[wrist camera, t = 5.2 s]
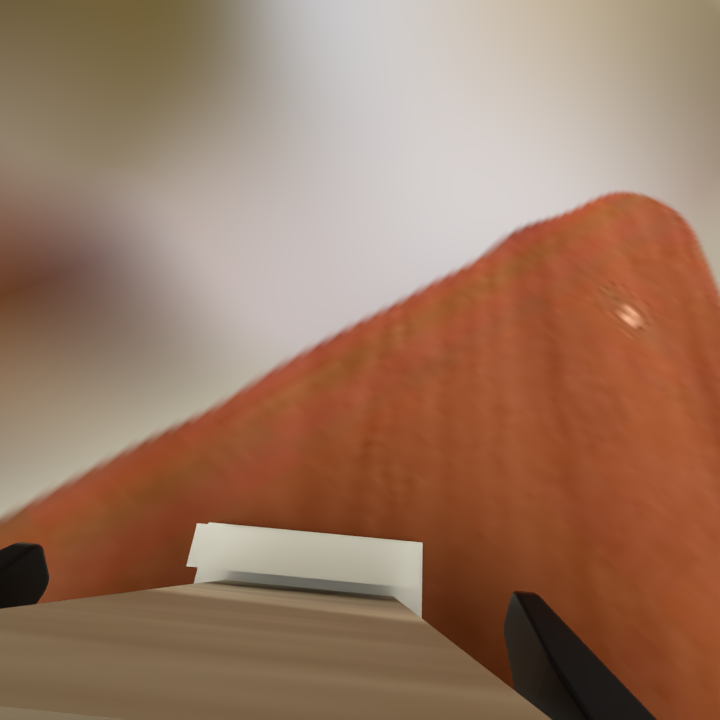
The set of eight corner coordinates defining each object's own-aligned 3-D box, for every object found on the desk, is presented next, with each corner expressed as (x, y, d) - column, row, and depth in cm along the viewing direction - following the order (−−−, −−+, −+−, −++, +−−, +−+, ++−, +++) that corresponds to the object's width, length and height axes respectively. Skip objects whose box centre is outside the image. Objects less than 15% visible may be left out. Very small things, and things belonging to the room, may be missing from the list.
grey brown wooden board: (391, 652, 13) (712, 1363, 1) (211, 634, 13) (-805, 1154, 2) (393, 596, 14) (618, 769, 2) (223, 580, 14) (-413, 663, 2)
